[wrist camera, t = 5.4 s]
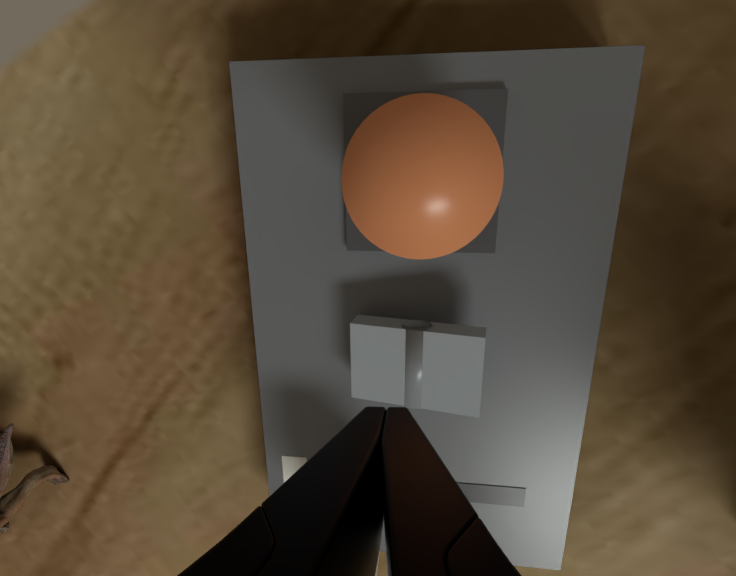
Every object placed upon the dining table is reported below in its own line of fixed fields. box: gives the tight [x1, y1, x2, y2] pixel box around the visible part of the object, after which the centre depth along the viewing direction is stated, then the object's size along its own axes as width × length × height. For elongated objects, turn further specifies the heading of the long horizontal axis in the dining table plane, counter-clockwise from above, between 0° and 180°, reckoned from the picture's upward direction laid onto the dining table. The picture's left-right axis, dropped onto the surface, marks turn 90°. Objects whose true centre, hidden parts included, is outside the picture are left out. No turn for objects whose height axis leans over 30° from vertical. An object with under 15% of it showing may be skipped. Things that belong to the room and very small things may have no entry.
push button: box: [341, 93, 504, 259], centre depth 13 cm, size 4×4×3 cm
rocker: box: [350, 315, 487, 418], centre depth 16 cm, size 5×3×1 cm, turn 91°
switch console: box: [229, 45, 645, 570], centre depth 19 cm, size 14×22×3 cm, turn 1°
